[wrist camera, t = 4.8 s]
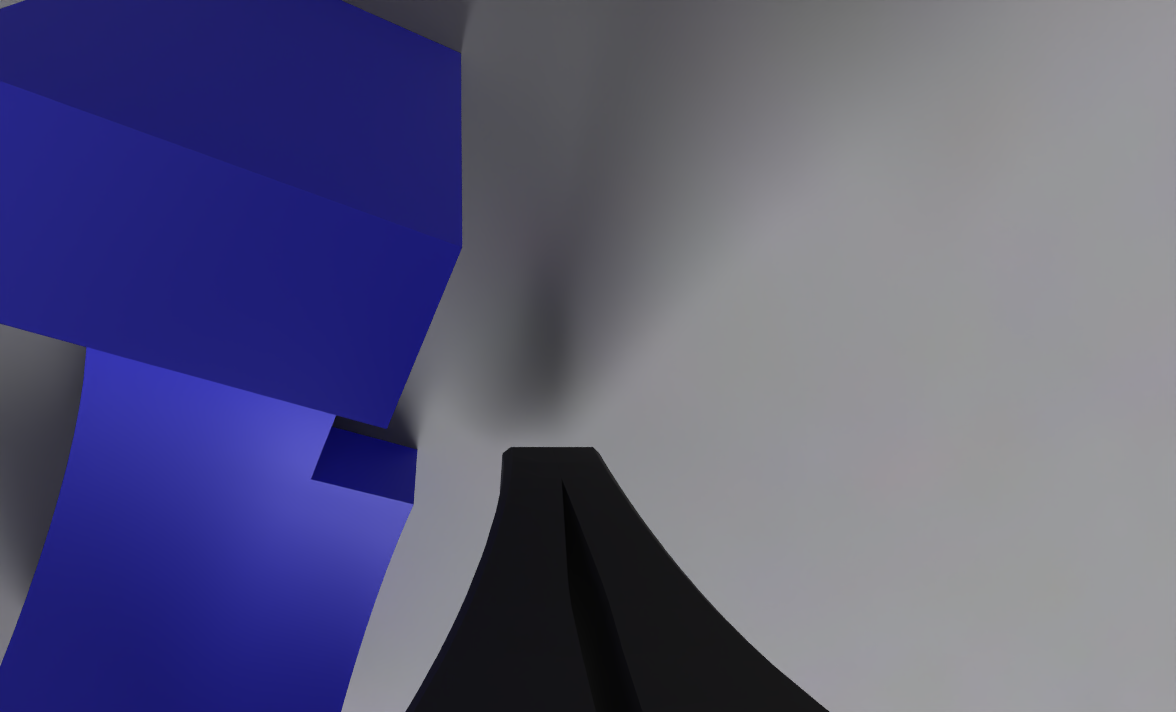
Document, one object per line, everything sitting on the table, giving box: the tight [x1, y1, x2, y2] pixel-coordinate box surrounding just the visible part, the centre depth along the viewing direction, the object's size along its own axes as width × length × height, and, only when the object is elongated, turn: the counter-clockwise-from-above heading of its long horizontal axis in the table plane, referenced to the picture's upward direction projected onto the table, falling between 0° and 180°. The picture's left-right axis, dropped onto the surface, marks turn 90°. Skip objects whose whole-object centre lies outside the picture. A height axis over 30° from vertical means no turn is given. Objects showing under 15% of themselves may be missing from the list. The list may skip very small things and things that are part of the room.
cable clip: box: [0, 0, 462, 712], centre depth 10 cm, size 12×4×6 cm, turn 154°
